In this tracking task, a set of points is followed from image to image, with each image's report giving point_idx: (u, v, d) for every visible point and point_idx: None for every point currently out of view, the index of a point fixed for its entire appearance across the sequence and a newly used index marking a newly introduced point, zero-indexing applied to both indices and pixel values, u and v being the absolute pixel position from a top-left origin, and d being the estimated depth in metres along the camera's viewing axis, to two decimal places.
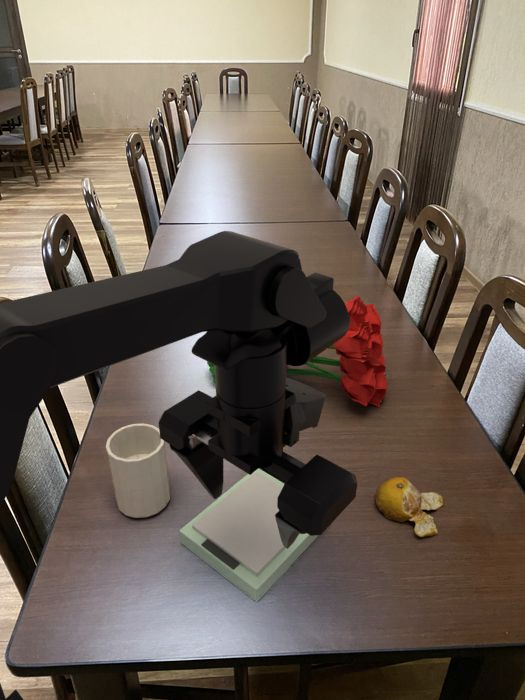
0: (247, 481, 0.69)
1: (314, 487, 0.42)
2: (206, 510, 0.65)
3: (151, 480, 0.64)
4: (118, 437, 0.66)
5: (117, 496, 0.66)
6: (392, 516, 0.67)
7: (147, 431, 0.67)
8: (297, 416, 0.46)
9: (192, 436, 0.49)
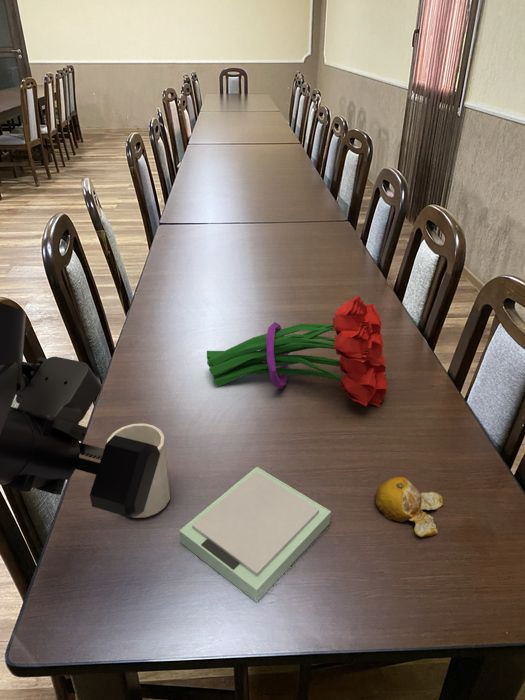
0: (247, 481, 0.69)
1: (115, 487, 0.44)
2: (206, 510, 0.65)
3: None
4: None
5: None
6: (392, 516, 0.67)
7: (147, 431, 0.67)
8: (67, 424, 0.45)
9: None
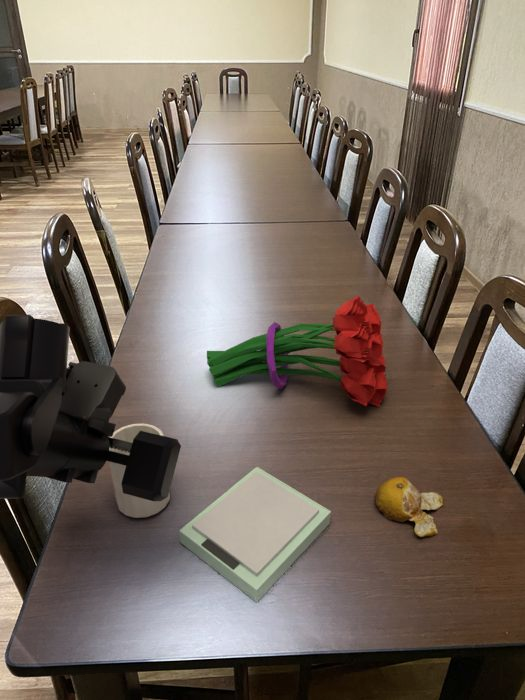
0: (247, 481, 0.69)
1: (143, 476, 0.51)
2: (206, 510, 0.65)
3: None
4: (118, 437, 0.66)
5: (117, 496, 0.66)
6: (392, 516, 0.67)
7: (147, 431, 0.67)
8: (100, 422, 0.51)
9: None
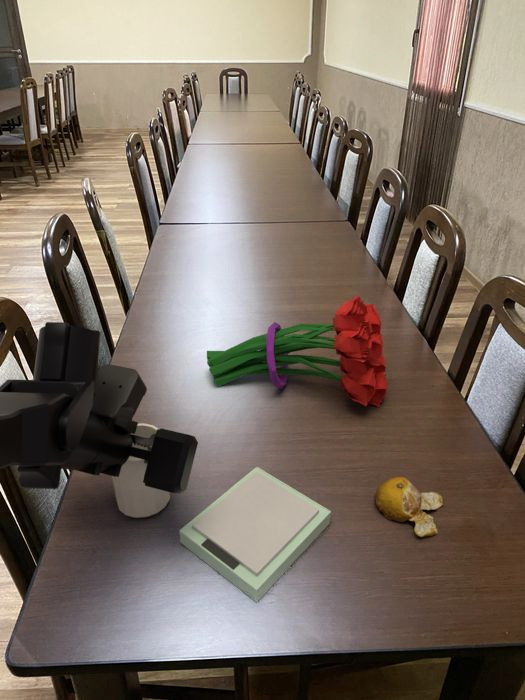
0: (247, 481, 0.69)
1: (164, 470, 0.55)
2: (206, 510, 0.65)
3: None
4: None
5: (117, 496, 0.66)
6: (392, 516, 0.67)
7: (147, 431, 0.67)
8: (124, 420, 0.55)
9: None
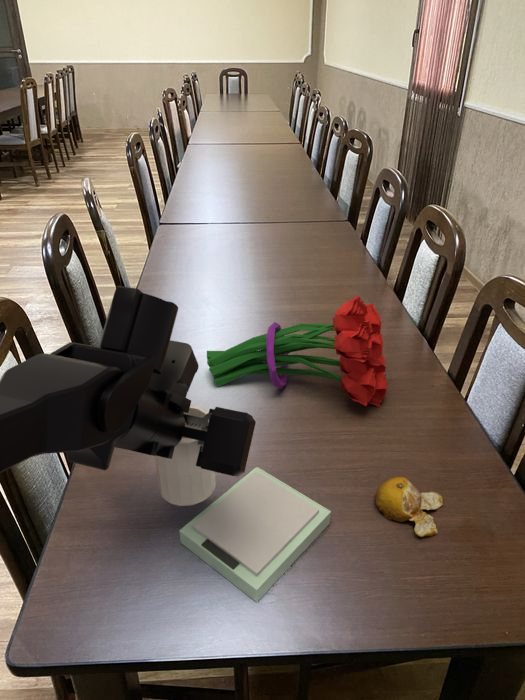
0: (247, 481, 0.69)
1: (223, 451, 0.51)
2: (206, 510, 0.65)
3: None
4: None
5: (161, 483, 0.62)
6: (392, 516, 0.67)
7: (192, 413, 0.63)
8: (179, 397, 0.51)
9: None
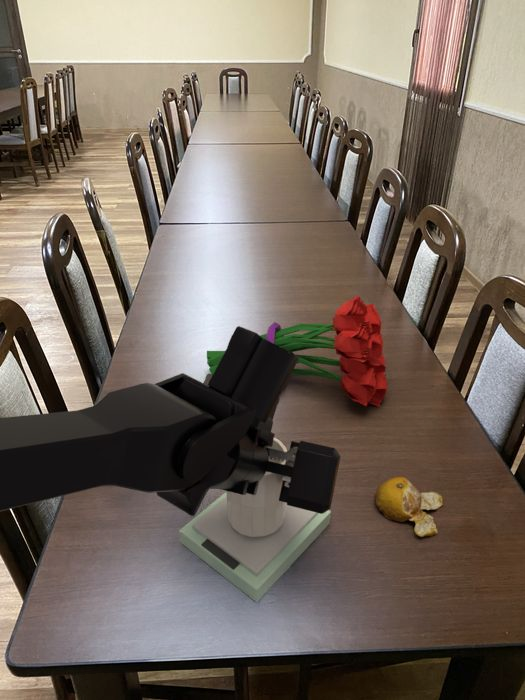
0: None
1: (311, 488, 0.50)
2: (206, 510, 0.65)
3: (274, 496, 0.58)
4: None
5: (233, 513, 0.60)
6: (392, 516, 0.67)
7: None
8: (267, 432, 0.50)
9: None
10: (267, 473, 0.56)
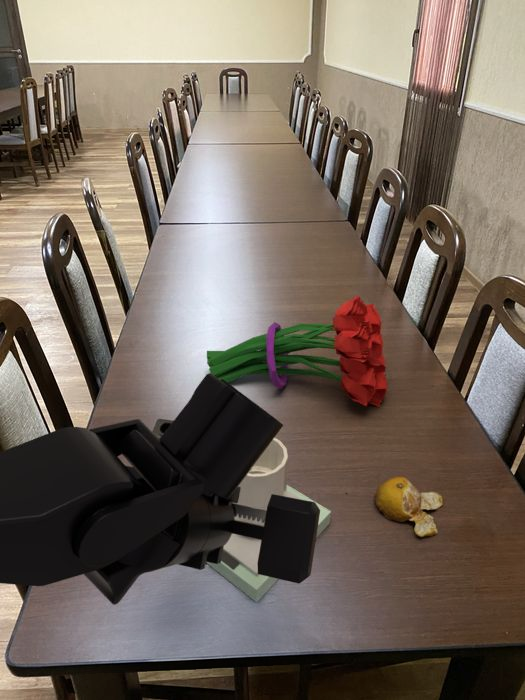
0: None
1: (285, 553, 0.41)
2: None
3: None
4: None
5: None
6: (392, 516, 0.66)
7: None
8: None
9: None
10: (267, 473, 0.56)
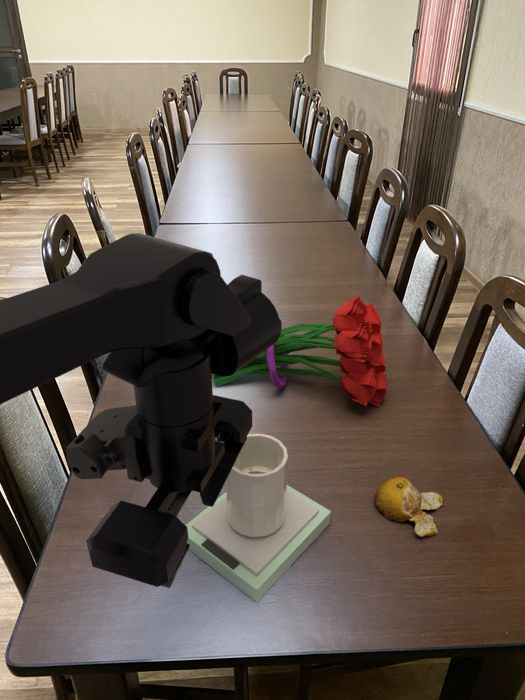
0: None
1: (226, 406, 0.49)
2: (206, 510, 0.65)
3: (274, 496, 0.58)
4: None
5: (233, 513, 0.60)
6: (392, 516, 0.66)
7: (264, 442, 0.62)
8: None
9: None
10: (267, 473, 0.56)
